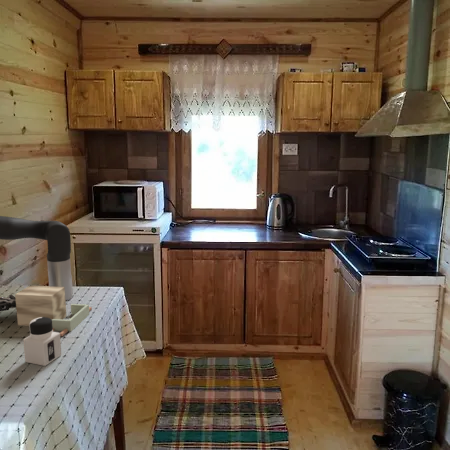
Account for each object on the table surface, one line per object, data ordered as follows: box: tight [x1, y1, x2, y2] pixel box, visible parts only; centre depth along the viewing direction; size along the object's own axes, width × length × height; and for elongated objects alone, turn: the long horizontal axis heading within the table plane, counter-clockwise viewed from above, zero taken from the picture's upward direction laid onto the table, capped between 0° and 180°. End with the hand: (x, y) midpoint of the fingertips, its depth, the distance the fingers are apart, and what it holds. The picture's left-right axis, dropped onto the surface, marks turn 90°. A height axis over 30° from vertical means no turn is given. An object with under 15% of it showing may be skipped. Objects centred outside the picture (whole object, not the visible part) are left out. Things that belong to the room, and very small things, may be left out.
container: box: [23, 317, 62, 367], centre depth 140 cm, size 8×8×13 cm
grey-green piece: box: [52, 303, 93, 338], centre depth 168 cm, size 25×7×4 cm, turn 173°
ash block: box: [14, 285, 67, 327], centre depth 169 cm, size 10×14×12 cm
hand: (23, 304), depth 170 cm, fingers closed
